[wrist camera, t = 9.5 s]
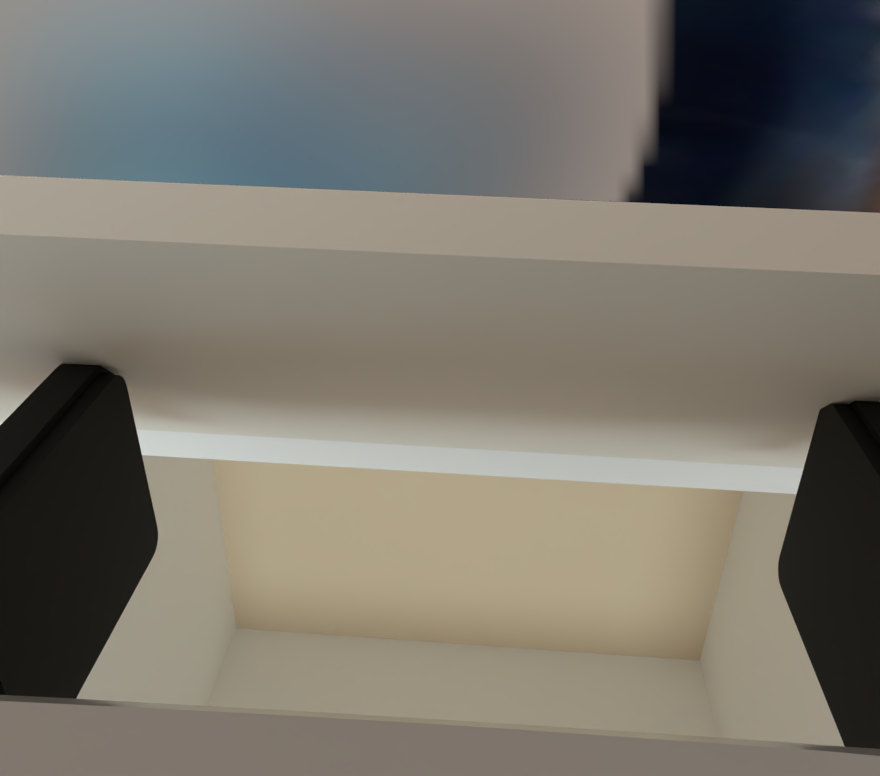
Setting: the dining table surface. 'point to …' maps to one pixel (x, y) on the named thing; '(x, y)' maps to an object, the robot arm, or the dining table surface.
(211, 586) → the carton
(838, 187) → the dining table surface
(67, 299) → the flap
